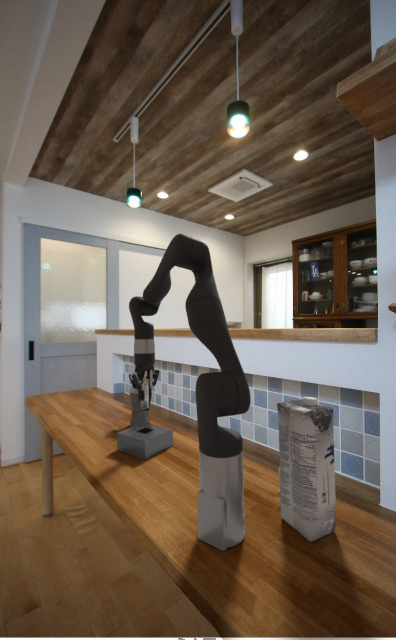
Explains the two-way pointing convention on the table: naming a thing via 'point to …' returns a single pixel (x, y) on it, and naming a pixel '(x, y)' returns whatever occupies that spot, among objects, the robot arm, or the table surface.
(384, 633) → the table surface
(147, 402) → the cylinder
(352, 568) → the table surface
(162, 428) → the bore block
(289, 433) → the juice carton
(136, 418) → the coffeepot
